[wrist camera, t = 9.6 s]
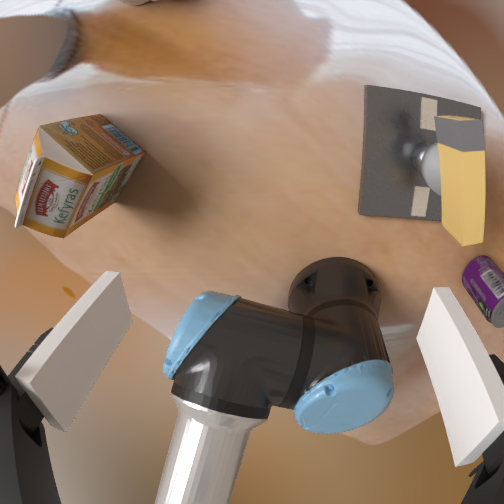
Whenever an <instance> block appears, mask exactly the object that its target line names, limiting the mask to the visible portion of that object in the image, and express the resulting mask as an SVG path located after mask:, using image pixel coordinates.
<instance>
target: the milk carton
mask: <svg viewBox="0 0 504 504" xmlns="http://www.w3.org/2000/svg"><path fill="white" fill-rule="evenodd" d="M145 153H146V151H145V150H143V149H142V148H141V147H140V146H139V145H137V144H136V143H135V142H134V141H132V140H131V139H130V138H129V137H127V136H126V135H125V134H124V133H123V132H121V131H120V130H119V129H118V128H116V127H115V126H114V125H113V124H111V123H110V122H109V121H108V120H107V119H105V118H104V117H103V116H102V115H100V114H97V115H91V116H85V117H80V118H74V119H69V120H64V121H59V122H55V123H50V124H46V125H41V126H39V128H38V130H37V132H36V135H35V138H34V140H33V143H32V145H31V148H30V151H29V154H28V156H27V159H26V162H25V165H24V168H23V171H22V174H21V178H20V181H19V184H18V188H17V191H16V204H17V211H18V214H17V218H16V221H15V227H16V228H18V227H19V226H21V225H24V226H26V227H29V228H31V229H34V230H36V231H38V232H41V233H44V234H47V235H51V236H55V237H60V238H65V237H66V236H67V235H69V234H70V233H71V232H73V231H74V230H76V229H77V228H78V227H80V226H81V225H83V224H84V223H85V222H87V221H88V220H90V219H91V218H93V217H94V216H95V215H97V214H98V213H100V212H101V211H103V210H104V209H106V208H107V207H109V206H110V205H112V204H113V203H115V202H116V200H117V198H118V196H119V195H120V193H121V191H122V190H123V188H124V186H125V185H126V183H127V181H128V180H129V178H130V177H131V175H132V173H133V172H134V170H135V169H136V167H137V165H138V164H139V162H140V161H141V159H142V158H143V156H144V155H145Z"/></svg>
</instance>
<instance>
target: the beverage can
mask: <svg viewBox="0 0 504 504" xmlns="http://www.w3.org/2000/svg"><path fill="white" fill-rule="evenodd" d="M462 282H463V285H464V287H465V289H466V290H467V291H468V293H469V294H470V296H471V297H472V299H473V300H474V302H475V303H476V305H477V306H478V307H479V309H480V311H481V312H482V314H483V315H484V317H485V318H486V320H487V321H488V322H490V323H492V324H493V325H494V326H495V327H497V328H501V327H504V273H503V272H502V271H501V270H500V268H499V267H498V266H497V265H496V264H495V263H494V262H493V261H492V260H491V259H490V258H489V257H487V256H479V257H476V258H475V259H473V260H472V261H471V262H470V263H469V264H468V265H467V267H466V268H465V270H464V273H463V277H462Z"/></svg>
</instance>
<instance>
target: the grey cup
mask: <svg viewBox="0 0 504 504" xmlns="http://www.w3.org/2000/svg"><path fill="white" fill-rule="evenodd" d="M118 1H121V2H123V3H125V4H128V5H133V6H135V5H141V4H144V3H146V2H148V1H150V0H118ZM151 1H157V0H151Z"/></svg>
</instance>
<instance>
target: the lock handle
mask: <svg viewBox="0 0 504 504" xmlns="http://www.w3.org/2000/svg"><path fill="white" fill-rule="evenodd" d="M434 120H435V128H436V136H437V143H434V144H432V145H431V146H430V147H429V148H428V149H427V150H426V151H425V153H424V155H423V157H422V160H421V174H422V178H423V180H424V182H425V183H426V185H427V186H428V187H429V188H430V189H432V190H433V191H434V192H435V193H437V194H438V195H440V196H441V200H442V225H443V226H444V227H445V228H446V229H447V230H448V231H449V232H450V233H451V235H452V236H453V237H454V238H455V239H456V240H457V241H458V242H459V243H460V244H461V245H462V246H467V245H472V244H477V243H483V235H484V220H485V152H484V150H485V142H484V130H483V120H479V119H474V118H469V117H463V116H457V115H447V116H434Z"/></svg>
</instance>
